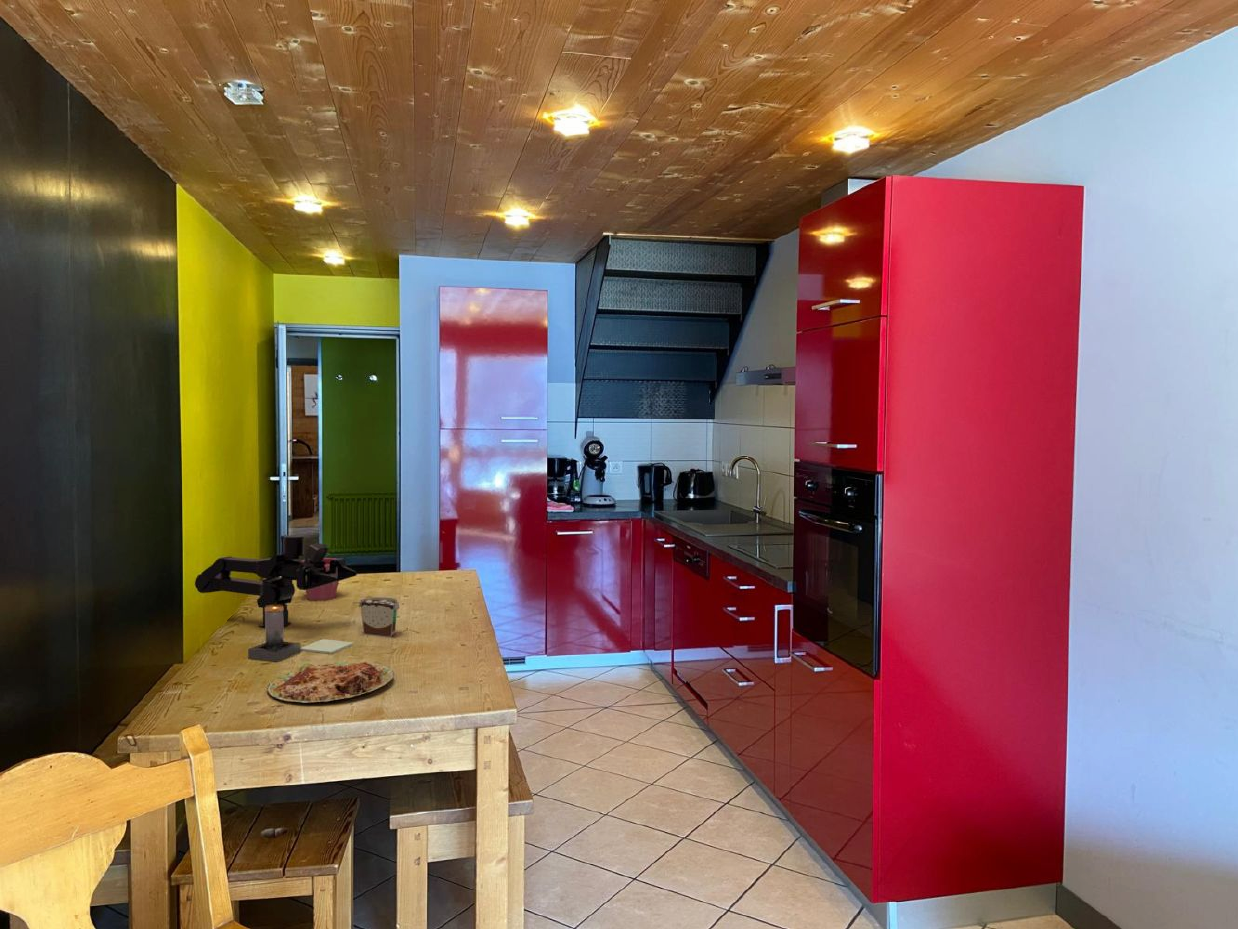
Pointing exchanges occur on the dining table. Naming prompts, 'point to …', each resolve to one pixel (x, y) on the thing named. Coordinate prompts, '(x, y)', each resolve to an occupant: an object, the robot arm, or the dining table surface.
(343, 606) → the dining table surface
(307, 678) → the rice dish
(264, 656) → the block
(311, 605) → the dining table surface
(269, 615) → the steel peg
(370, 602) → the food container
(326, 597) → the plant pot
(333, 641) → the rest pad
